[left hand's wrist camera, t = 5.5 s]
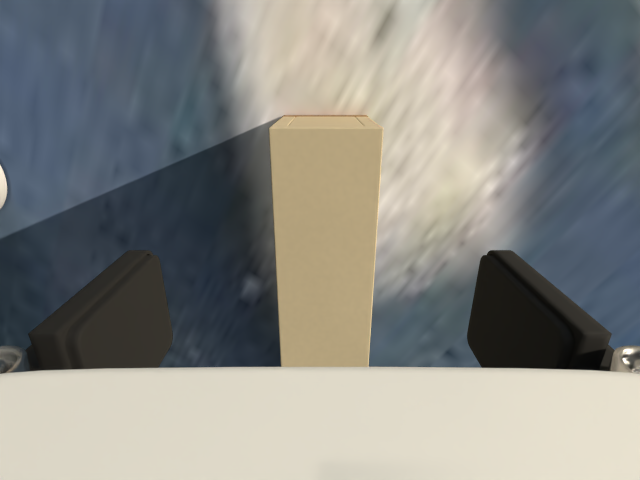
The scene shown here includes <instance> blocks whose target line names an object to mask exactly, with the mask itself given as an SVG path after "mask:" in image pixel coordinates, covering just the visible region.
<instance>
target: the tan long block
mask: <svg viewBox="0 0 640 480" xmlns="http://www.w3.org/2000/svg"><path fill="white" fill-rule="evenodd" d="M269 141H270V161H271V180H272V200H273V219H274V238H275V258H276V277H277V297H278V316H279V335H280V355H281V367H368V363H369V347H370V332H371V316H372V300H373V285H374V269H375V253H376V238H377V222H378V206H379V191H380V175H381V159H382V144H383V128H382V127H381V126H379V125H378V124H377V123H375V122H374V121H373V120H371V119H370V118H368V116H367V115H284V116H282V118H281V119H279V120H278V121H277V122H276V123H275V124H273V125H272V126H271V127H270V128H269Z"/></svg>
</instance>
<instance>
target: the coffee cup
mask: <svg viewBox="0 0 640 480" xmlns="http://www.w3.org/2000/svg"><path fill="white" fill-rule="evenodd" d="M6 195H7V183H6V178H5V175H4V172H3V170H2V168H1V166H0V209H1V207H2V206H3V204H4V202H5V199H6Z"/></svg>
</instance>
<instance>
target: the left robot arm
mask: <svg viewBox="0 0 640 480" xmlns="http://www.w3.org/2000/svg"><path fill="white" fill-rule="evenodd" d="M28 335H29V337H30V340H31V343H32V345H31V346H30V347H29V348H27V349H26V350H24V349H23V348H21V347H18V346H0V480H640V346H622V347H619V348H617V349H616V350H614V349H613V348H611V347H610V346H609V345H608V343H609V340H610V337H611V335H612V334H611V333H610V332H609V331H608V330H607V329H605V328H604V327H603V326H602V325H601V324H599V323H598V322H597V321H596V320H595V319H593V318H592V317H591V316H590V315H589V314H587V313H586V312H585V311H584V310H583V309H581V308H580V307H579V306H578V305H577V304H575V303H574V302H573V301H572V300H571V299H569V298H568V297H567V296H566V295H565V294H563V293H562V292H561V291H560V290H559V289H557V288H556V287H555V286H554V285H553V284H551V283H550V282H549V281H548V280H547V279H545V278H544V277H543V276H542V275H541V274H539V273H538V272H537V271H536V270H535V269H533V268H532V267H531V266H530V265H529V264H527V263H526V262H525V261H524V260H523V259H521V258H520V257H519V256H518V255H517V254H515V253H514V252H513V251H511V250H492V251H489V252H488V254H487V255H483V256H482V258H481V260H480V265H479V271H478V276H477V282H476V288H475V293H474V299H473V304H472V310H471V316H470V321H469V327H468V333H467V339H468V344H469V346H470V348H471V350H472V351H473V353H474V355H475V357H476V358H477V360H478V362H479V363H480V365H481V367H482V368H439V367H196V368H158V367H159V365H160V363H161V362H162V360H163V358H164V357H165V355H166V353H167V351H168V350H169V348H170V346H171V344H172V339H173V333H172V327H171V321H170V316H169V310H168V304H167V299H166V293H165V288H164V282H163V276H162V271H161V265H160V260H159V258H158V256H157V255H153V254H152V252H151V251H148V250H129V251H127V252H126V253H125V254H123V255H122V256H121V257H120V258H119V259H117V260H116V261H115V262H114V263H113V264H111V265H110V266H109V267H108V268H107V269H105V270H104V271H103V272H102V273H101V274H99V275H98V276H97V277H96V278H95V279H93V280H92V281H91V282H90V283H89V284H87V285H86V286H85V287H84V288H83V289H81V290H80V291H79V292H78V293H77V294H75V295H74V296H73V297H72V298H71V299H69V300H68V301H67V302H66V303H65V304H63V305H62V306H61V307H60V308H59V309H57V310H56V311H55V312H54V313H53V314H51V315H50V316H49V317H48V318H47V319H45V320H44V321H43V322H42V323H41V324H39V325H38V326H37V327H36V328H35V329H33V330H32V331H31V332H30V333H29V334H28Z"/></svg>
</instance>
